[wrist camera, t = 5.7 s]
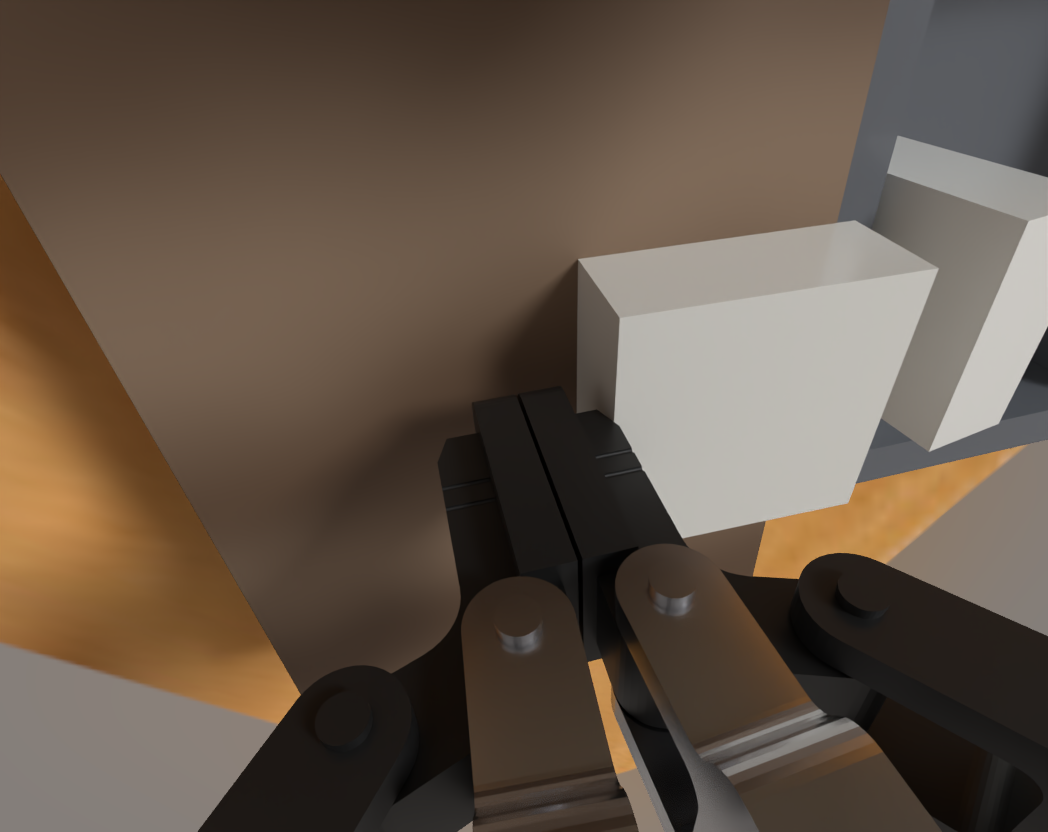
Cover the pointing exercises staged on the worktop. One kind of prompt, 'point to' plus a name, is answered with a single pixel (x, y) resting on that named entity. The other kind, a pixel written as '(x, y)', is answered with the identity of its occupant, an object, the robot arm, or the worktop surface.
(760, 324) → the tile
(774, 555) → the worktop surface
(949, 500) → the worktop surface
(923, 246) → the tile
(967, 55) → the box
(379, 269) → the brown wooden block
